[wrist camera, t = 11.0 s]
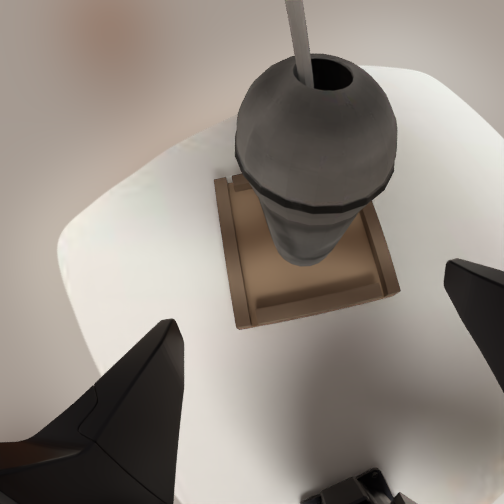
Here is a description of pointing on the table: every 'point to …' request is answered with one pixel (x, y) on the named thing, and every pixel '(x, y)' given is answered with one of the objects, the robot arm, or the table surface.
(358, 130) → the beverage cup
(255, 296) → the walnut tray
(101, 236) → the table surface
